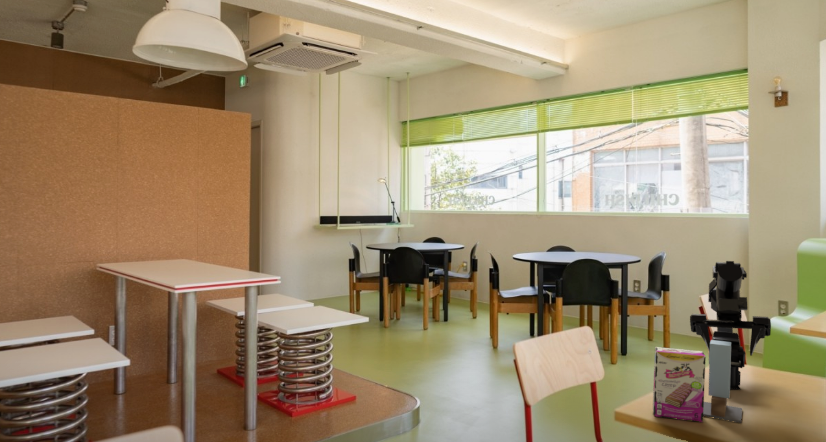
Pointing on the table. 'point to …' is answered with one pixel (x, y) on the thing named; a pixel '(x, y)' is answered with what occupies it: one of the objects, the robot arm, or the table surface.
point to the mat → (730, 413)
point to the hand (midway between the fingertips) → (730, 353)
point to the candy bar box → (679, 384)
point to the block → (719, 368)
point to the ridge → (718, 406)
